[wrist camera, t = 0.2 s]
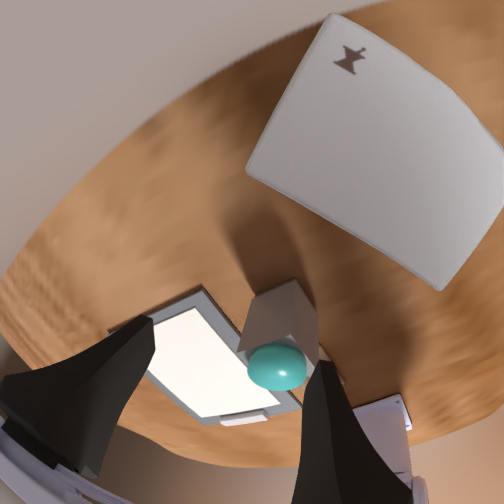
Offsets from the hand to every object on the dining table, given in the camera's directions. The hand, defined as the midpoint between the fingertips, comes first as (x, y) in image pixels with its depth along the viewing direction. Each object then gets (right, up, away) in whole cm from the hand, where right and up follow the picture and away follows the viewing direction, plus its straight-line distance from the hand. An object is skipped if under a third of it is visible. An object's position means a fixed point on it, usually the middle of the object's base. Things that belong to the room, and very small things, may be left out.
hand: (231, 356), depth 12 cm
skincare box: (+6, +12, +4) cm, 14 cm away
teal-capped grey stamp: (+3, +1, +10) cm, 11 cm away
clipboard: (-4, -8, +16) cm, 18 cm away
